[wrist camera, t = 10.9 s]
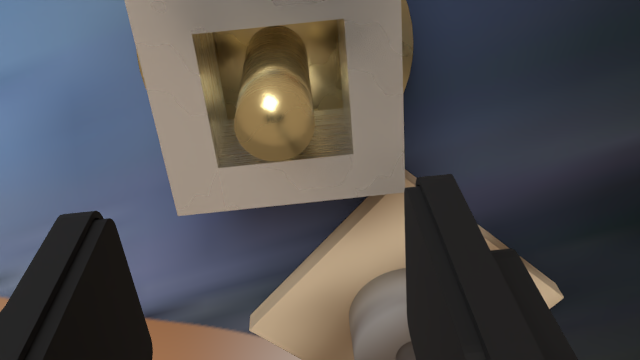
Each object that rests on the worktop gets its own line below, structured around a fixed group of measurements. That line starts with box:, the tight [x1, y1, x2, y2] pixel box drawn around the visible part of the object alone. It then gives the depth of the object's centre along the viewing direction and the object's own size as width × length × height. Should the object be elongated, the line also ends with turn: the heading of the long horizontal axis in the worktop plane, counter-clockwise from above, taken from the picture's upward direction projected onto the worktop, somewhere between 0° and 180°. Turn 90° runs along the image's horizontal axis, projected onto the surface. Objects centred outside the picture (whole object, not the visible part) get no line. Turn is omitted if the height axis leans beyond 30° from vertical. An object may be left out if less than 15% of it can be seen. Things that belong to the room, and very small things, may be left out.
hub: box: [136, 0, 413, 161], centre depth 18 cm, size 9×9×8 cm
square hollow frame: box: [125, 0, 405, 216], centre depth 18 cm, size 7×7×4 cm
